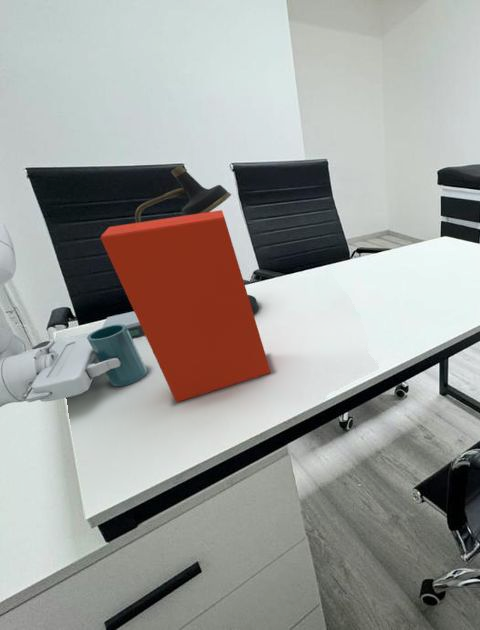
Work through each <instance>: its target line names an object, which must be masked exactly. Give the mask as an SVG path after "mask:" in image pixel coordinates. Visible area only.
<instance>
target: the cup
mask: <svg viewBox="0 0 480 630" xmlns="http://www.w3.org/2000/svg"><path fill="white" fill-rule="evenodd" d="M90 333H91V334H89V335H88V337H87V340H88V342H89V343H90V345H91V347H92V349H93V351H94V353H95V355H96V356H97V358H98V360H99V362H103V361H105V360H107V358H110V357H114V356H118V357H119V358H120V360H121V364H120V366H119V367H116V368H113V369H110V370H108V371H106V372H104V374H105V375H106V377H107V379H108V380H109V382H110V384H111V385H112V386H114V387H124V386H128V385H131V384H134V383H137V382H138V381H140V380H142V379H143V378H144V377H146V375H147V373H148V370H147V367H146V365H145V362H144V360H143V359H142V358H143V357H142V356H141V354H140V352H139V350H138V348H137V346H136V344H135V342H134V338H132V337H131V335H130V333H129V331H128V329H127V327H126V326H125V325H122V324H118V325H111V326H107V327H104V328H102V327H101V328H98V329H96V330H94V331H92V332H90Z"/></svg>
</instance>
